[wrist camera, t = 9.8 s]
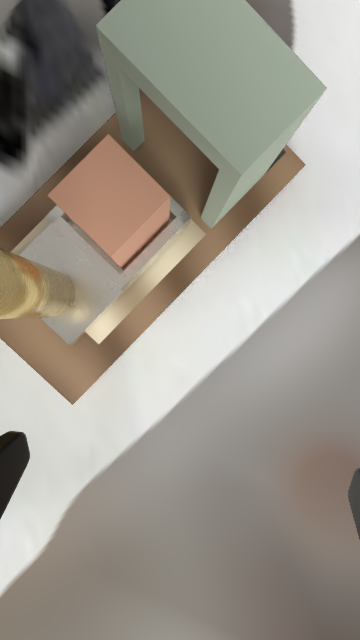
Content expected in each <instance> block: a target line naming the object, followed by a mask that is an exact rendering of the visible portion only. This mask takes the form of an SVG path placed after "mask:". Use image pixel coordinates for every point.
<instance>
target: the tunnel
mask: <svg viewBox="0 0 360 640" xmlns="http://www.w3.org/2000/svg"><path fill="white" fill-rule="evenodd" d="M96 30H97V34H98V38H99V42H100V47H101V51H102V55H103V59H104V64H105V68H106V72H107V76H108V80H109V85H110V89H111V93H112V97H113V102H114V106H115V110H116V114H117V118H118V123H119V127H120V131H121V135H122V140H123V141H124V142H125V143H126V144H127V145H128V146H129V147H130V148H131V149H132V150H133V151H135V150H136V149H137V148H138V147H139V146H140V145H141V144H142V143H143V142H144V141H145V138H144V129H143V119H142V110H141V101H140V92H139V88H140V89H141V90H142V91H143V92H144V93H145V94H146V95H147V96H148V97H149V98H150V99H151V100H152V101H153V102H154V103H155V104H156V105H157V106H158V107H159V108H160V109H161V110H162V112H163V113H164V114H165V115H166V116H167V117H168V118H169V119H170V120H171V121H172V122H173V123H174V124H175V125H176V126H177V127H178V128H179V129H180V130H181V131H182V132H183V133H184V134H185V135H186V136H187V137H188V138H189V139H190V140H191V141H192V142H193V143H194V144H195V145H196V146H197V147H198V148H199V149H200V150H201V151H202V152H203V153H204V154H205V155H206V156H207V157H208V158H209V159H210V160H211V162H212V163H213V164H214V165H215V166H216V167H217V168H218V169H219V171H218V174H217V177H216V179H215V182H214V184H213V187H212V189H211V192H210V195H209V197H208V200H207V202H206V205H205V208H204V210H203V213H202V215H201V219H202V220H203V221H204V222H205V223H206V224H207V225H208V226H209V227H210V228H211V229H212V228H213V227H214V226H215V225H216V224H217V223H218V222H219V221H220V220H221V219H222V218H223V217H224V216H225V214H226V213H227V212H228V211H229V210H230V209H231V208H232V207H233V206H234V205H235V204H236V203H237V202H238V201H239V200H240V199H241V198H242V197H243V196H244V195H245V194H246V193H247V192H248V191H249V190H250V189H251V188H252V187H253V186H254V185H255V184H256V183H257V182H258V181H259V180H260V179H261V178H262V177H263V175H264V174H265V173H266V171H267V170H268V169H269V167H270V166H271V165H272V163H273V162H274V160H275V159H276V158H277V156H278V155H279V153H280V152H281V151H282V149H283V148H284V147H285V145H286V144H287V142H288V141H289V140H290V138H291V137H292V136H293V134H294V133H295V131H296V130H297V129H298V127H299V126H300V124H301V123H302V122H303V120H304V119H305V118H306V116H307V115H308V113H309V112H310V111H311V109H312V108H313V106H314V105H315V104H316V102H317V101H318V100H319V98H320V97H321V95H322V94H323V93H324V91H325V90H326V89H327V87H326V86H325V85H324V84H323V83H322V82H321V81H320V80H319V79H318V78H317V77H316V76H315V75H314V73H313V72H312V71H311V70H310V69H309V68H308V67H307V66H306V65H305V64H304V63H303V62H302V61H301V60H300V58H299V57H298V56H297V55H296V54H295V53H294V52H293V51H292V50H291V49H290V48H289V47H288V46H287V45H286V44H285V42H284V41H283V40H282V39H281V38H280V37H279V36H278V35H277V34H276V33H275V32H274V31H273V30H272V29H271V27H270V26H269V25H268V24H267V23H266V22H265V21H264V20H263V19H262V18H261V17H260V16H259V15H258V13H256V11H255V10H254V9H253V8H252V7H251V6H250V5H249V4H248V3H247V2H246V1H245V0H121V1H120V2H119V3H118V4H117V5H116V6H115V7H114V8H113V9H112V10H111V11H110V12H109V13H108V14H107V15H106V16H105V17H104V18H103V19H102V20H100V22H98V23H97V25H96Z"/></svg>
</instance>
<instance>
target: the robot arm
mask: <svg viewBox="0 0 360 640" xmlns="http://www.w3.org/2000/svg"><path fill="white" fill-rule="evenodd" d="M29 458H30V452H29V447H28V443H27V438H26V435H25V434H24V433H23V432H16V431H9V432H7V433H5V434H3V435H1V436H0V519H1V517H2V515H3V513H4V511H5V509H6V507H7V505H8V503H9V501H10V499H11V497H12V495H13V493H14V491H15V489H16V487H17V485H18V483H19V481H20V479H21V477H22V474H23V472H24V470H25V468H26V466H27V464H28V462H29ZM348 498H349V503H350V506H351V510H352V513H353V517H354V521H355V524H356V528H357V531H358V535H359V539H360V468H358V469H356V470H355V472H354V475H353V478H352V481H351V484H350V487H349V491H348Z"/></svg>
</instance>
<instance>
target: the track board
mask: <svg viewBox="0 0 360 640" xmlns="http://www.w3.org/2000/svg"><path fill="white" fill-rule="evenodd" d="M139 92H140V101H141V110H142V119H143V129H144V138H145V141H144V142H143V143H142V144H141V145H140V146H139V147H138V148H137V149H136V150H135V151H133V150H132V149H131V148H130V147H129V146H128V145H127V144H126V143H125V142H124V141H123V140H122V135H121V131H120V127H119V123H118V118H117V114H116V113H115V114H114V115H113V116H112V117H111V118H110V119H109V120H108V121H107V122H106V123H105V124H104V125H103V126H102V127H101V128H100V129H99V130H98V131H97V132H96V133H95V134H94V135H93V136H92V137H91V138H90V139H89V140H88V141H87V142H86V143H85V144H84V145H83V146H82V147H81V148H80V149H79V150H78V151H77V152H76V153H75V154H74V155H73V156H72V157H71V158H70V159H69V160H68V161H67V162H66V163H65V164H64V165H63V166H62V167H61V168H60V169H59V170H58V171H57V172H56V173H55V174H54V175H53V176H52V177H51V178H50V179H49V180H48V181H47V182H46V183H45V184H44V185H43V186H42V187H41V188H40V189H39V190H38V191H37V192H36V193H35V194H34V195H33V196H32V197H31V198H30V199H29V200H28V201H27V202H26V203H25V204H24V205H23V206H22V207H21V208H20V209H19V210H18V211H17V212H16V213H15V214H14V215H13V216H12V217H11V218H10V219H9V220H8V221H7V222H6V223H5V224H4V225H3V226H2V227H1V228H0V248H2V249H4V250H7V251H9V252H11V253H14V254H16V255H20V254H21V253H22V252H23V251H24V250H25V249H26V248H27V247H28V246H29V245H30V244H31V243H32V242H33V241H34V240H35V239H36V238H37V237H38V236H39V235H40V234H41V233H42V232H43V231H44V230H45V229H46V228H47V227H48V226H49V225H50V224H51V222H50V221H49V220H48V219H47V218H46V217H45V216H46V215H47V214H48V213H49V212H50V211H51V210H52V209H53V208H54V207H55V206H56V203H55V202H54V201H53V200H52V199H51V198H50V197H49V196H48V194H49V193H50V192H51V191H52V190H53V189H54V188H55V187H56V186H57V185H58V184H59V183H60V182H61V181H62V180H63V179H64V178H65V177H66V176H67V175H68V174H69V173H70V172H71V171H72V170H73V169H74V168H75V167H76V166H77V165H78V164H79V163H80V162H81V161H82V160H83V159H84V158H85V157H86V156H87V155H88V154H89V153H90V152H91V151H92V150H93V149H94V148H95V147H96V146H97V145H98V144H99V143H100V142H101V141H102V140H103V139H104V138H105V137H106V136H107V135H108V134H109V135H110V136H111V137H112V138H113V139H114V140H115V141H116V142H117V143H118V144H119V145H120V146H121V147H122V148H123V149H124V150H125V151H126V152H127V153H128V154H129V155H130V156H131V157H132V158H133V159H134V160H135V161H136V162H137V163H138V164H139V165H140V166H141V167H142V168H143V169H144V170H145V171H146V172H147V173H148V174H149V175H150V176H151V177H152V178H153V179H154V180H155V181H156V182H157V183H158V184H159V185H160V186H161V187H162V188H163V189H164V190H165V191H166V192H167V193H168V194H169V195H170V196H171V197H172V198H173V199H174V200H175V201H176V202H177V203H178V204H179V205H180V206H181V207H182V208H183V209H184V210H185V211H186V212H187V213H188V214H189V215H190V216H191V220H190V224H189V227H188V228H187V229H186V230H185V231H184V232H183V233H182V234H181V235H180V236H179V237H178V238H177V239H176V240H175V241H174V242H173V243H172V244H171V245H170V246H169V247H168V248H167V249H166V250H165V251H164V252H163V253H162V254H161V255H160V256H159V257H158V258H157V259H156V260H155V261H154V262H153V263H152V264H151V265H150V266H149V267H148V269H147V270H146V271H145V272H144V273H143V274H142V275H141V276H140V277H139V278H138V279H137V280H136V281H135V282H134V283H133V284H132V285H131V286H130V287H129V288H128V289H127V290H126V291H125V292H124V293H123V294H122V295H121V296H120V297H119V298H118V299H117V300H116V301H115V302H114V303H113V304H112V305H111V306H110V307H109V308H108V309H107V310H106V312H105V313H104V314H103V315H102V316H101V317H100V318H99V319H98V320H97V321H96V322H95V323H94V324H93V325H92V326H91V327H90V328H89V329H88V330H87V331H86V332H85V333H84V334H83V335H82V336H81V337H80V338H79V339H78V340H77V341H76V342H75V343H74V344H73V345H70V346H69V345H68V344H67V343H66V342H65V341H64V340H63V339H62V338H61V337H60V336H59V335H58V334H57V333H56V332H55V331H53V330H52V329H51V328H50V327H49V326H48V325H47V324H46V323H45V322H44V321H43V320H42V319H41V318H16V319H0V338H1V339H2V340H3V341H4V342H5V343H6V344H7V345H8V346H9V347H10V348H11V349H13V350H14V351H15V352H16V353H17V354H18V355H19V356H20V357H21V358H22V359H23V360H24V361H26V362H27V363H28V364H29V365H30V366H31V367H32V368H33V369H34V370H35V371H36V372H37V373H39V374H40V375H41V376H42V377H43V378H44V379H45V380H46V381H47V382H48V383H49V384H50V385H52V386H53V387H54V388H55V389H56V390H57V391H58V392H59V393H60V394H61V395H62V396H63V397H65V398H66V399H67V400H68V401H69V402H70V403H71V404H72V405H73V404H74V403H75V402H76V401H77V400H78V399H79V398H80V397H81V396H82V395H83V394H84V393H85V392H86V391H87V390H88V389H89V388H90V387H91V386H92V385H93V383H94V382H95V381H96V380H97V379H98V378H99V377H100V376H101V375H102V374H103V373H104V372H105V371H106V370H107V369H108V368H109V367H110V366H111V365H112V364H113V363H114V362H115V361H116V360H117V359H118V358H119V357H120V356H121V355H122V354H123V353H124V352H125V351H126V350H127V348H128V347H129V346H130V345H131V344H132V343H133V342H134V341H135V340H136V339H137V338H138V337H139V336H140V335H141V334H142V333H143V332H144V331H145V330H146V329H147V328H148V327H149V326H150V325H151V324H152V323H153V322H154V321H155V320H156V319H157V318H158V317H159V316H160V314H161V313H162V312H163V311H164V310H165V309H166V308H167V307H168V306H169V305H170V304H171V303H172V302H173V301H174V300H175V299H176V298H177V297H178V296H179V295H180V294H181V293H182V292H183V291H184V290H185V289H186V288H187V287H188V286H189V285H190V284H191V283H192V282H193V280H194V279H195V278H196V277H197V276H198V275H199V274H200V273H201V272H202V271H203V270H204V269H205V268H206V267H207V266H208V265H209V264H210V263H211V262H212V261H213V260H214V259H215V258H216V257H217V256H218V255H219V254H220V253H221V252H222V251H223V250H224V249H225V248H226V246H227V245H228V244H229V243H230V242H231V241H232V240H233V239H234V238H235V237H236V236H237V235H238V234H239V233H240V232H241V231H242V230H243V229H244V228H245V227H246V226H247V225H248V224H249V223H250V222H251V221H252V220H253V219H254V218H255V217H256V216H257V215H258V214H259V213H260V211H261V210H262V209H263V208H264V207H265V206H266V205H267V204H268V203H269V202H270V201H271V200H272V199H273V198H274V197H275V196H276V195H277V194H278V193H279V192H280V191H281V190H282V189H283V188H284V187H285V186H286V185H287V184H288V183H289V182H290V181H291V180H292V179H293V177H294V176H295V175H296V174H297V173H298V172H299V171H300V170H301V169H302V168H303V167H304V166H305V164H304V163H303V162H302V160H301V159H300V158H299V157H298V156H297V155H296V154H295V153H294V152H293V151H292V150H291V149H290V148H289V147H288V146H287V145H285V147H284V148H283V149H282V151H281V152H280V153H279V155H278V156H277V158H276V159H275V160H274V162H273V163H272V165H271V166H270V167H269V169H268V170H267V171H266V173H265V174H264V175H263V177H262V178H261V179H260V180H259V181H258V182H257V183H256V184H255V185H254V186H253V187H252V188H251V189H250V190H249V191H248V192H247V193H246V194H245V195H244V196H243V197H242V198H241V199H240V200H239V201H238V202H237V203H236V204H235V205H234V206H233V207H232V208H231V209H230V210H229V211H228V212H227V213H226V214H225V216H224V217H223V218H222V219H221V220H220V221H219V222H218V223H217V224H216V225H215V226H214V227H213V228H212V229H211V228H210V227H209V226H208V225H207V224H206V223H205V222H204V221H203V220H202V219H201V215H202V213H203V210H204V208H205V205H206V202H207V200H208V197H209V195H210V192H211V189H212V187H213V184H214V182H215V179H216V177H217V174H218V171H219V169H218V168H217V167H216V166H215V165H214V164H213V163H212V162H211V160H210V159H209V158H208V157H207V156H206V155H205V154H204V153H203V152H202V151H201V150H200V149H199V148H198V147H197V146H196V145H195V144H194V143H193V142H192V141H191V140H190V139H189V138H188V137H187V136H186V135H185V134H184V133H183V132H182V131H181V130H180V129H179V128H178V127H177V126H176V125H175V124H174V123H173V122H172V121H171V120H170V119H169V118H168V117H167V116H166V115H165V114H164V113H163V112H162V110H161V109H160V108H159V107H158V106H157V105H156V104H155V103H154V102H153V101H152V100H151V99H150V98H149V97H148V96H147V95H146V94H145V93H144V92H143V91H142V90H141V89H139Z"/></svg>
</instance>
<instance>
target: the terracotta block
mask: <svg viewBox="0 0 360 640" xmlns="http://www.w3.org/2000/svg"><path fill="white" fill-rule="evenodd" d="M48 196H49V197H50V198H51V199H52V200H53V201H54V202H55V203H56V205H57V206H58V207H59V208H60V209H61V210H62V211H63V212H64V213H65V214H66V215H67V216H68V217H69V218H70V219H71V220H72V221H73V222H74V223H75V224H76V225H77V226H78V227H79V228H80V229H81V230H82V231H83V232H85V233H86V234H87V235H88V236H89V237H90V238H91V239H92V240H93V241H94V242H95V243H96V244H97V245H98V246H99V247H100V248H101V249H102V250H103V251H104V252H105V253H106V254H107V255H108V256H109V257H110V258H111V259H112V260H113V261H114V262H115V263H116V264H118V265H119V266H120V267H121V268H122V269H124V268H125V267H126V266H127V265H128V264H129V263H130V262H131V261H132V260H133V259H134V258H135V256H136V255H137V254H138V253H139V252H140V251H141V250H142V249H143V248H144V247H145V246H146V245H147V244H148V243H149V242H150V241H151V240H152V239H153V238H154V237H155V236H156V235H157V234H158V233H159V232H160V231H161V230H162V229H163V228H164V227H165V226H166V225H167V224H168V223H169V212H170V195H169V194H168V193H167V192H166V191H165V190H164V189H163V188H162V187H161V186H160V185H159V184H158V183H157V182H156V181H155V180H154V179H153V178H152V177H151V176H150V175H149V174H148V173H147V172H146V171H145V170H144V169H143V168H142V167H141V166H140V165H139V164H138V163H137V162H136V161H135V160H134V159H133V158H132V157H131V156H130V155H129V154H128V153H127V152H126V151H125V150H124V149H123V148H122V147H121V146H120V145H119V144H118V143H117V142H116V141H115V140H114V139H113V138H112V137H111V136H110V135H109V134H108V135H107V136H106V137H105V138H104V139H103V140H102V141H101V142H100V143H99V144H98V145H97V146H96V147H95V148H94V149H93V150H92V151H91V152H90V153H89V154H88V155H87V156H86V157H85V158H84V159H83V160H82V161H81V162H80V163H79V164H78V165H77V166H76V167H75V168H74V169H73V170H72V171H71V172H70V173H69V174H68V175H67V176H66V177H65V178H64V179H63V180H62V181H61V182H60V183H59V184H58V185H57V186H56V187H55V188H54V189H53V190H52V191H51V192H50V193H49V194H48Z"/></svg>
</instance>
